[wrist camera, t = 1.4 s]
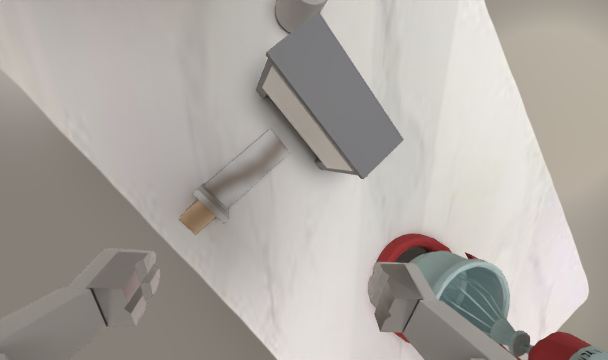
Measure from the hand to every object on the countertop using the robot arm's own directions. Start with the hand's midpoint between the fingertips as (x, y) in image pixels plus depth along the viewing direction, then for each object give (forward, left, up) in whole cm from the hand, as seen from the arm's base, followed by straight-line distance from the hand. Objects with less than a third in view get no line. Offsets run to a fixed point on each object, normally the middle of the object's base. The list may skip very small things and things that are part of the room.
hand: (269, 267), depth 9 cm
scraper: (0, 0, -39) cm, 39 cm away
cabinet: (0, +17, -39) cm, 42 cm away
